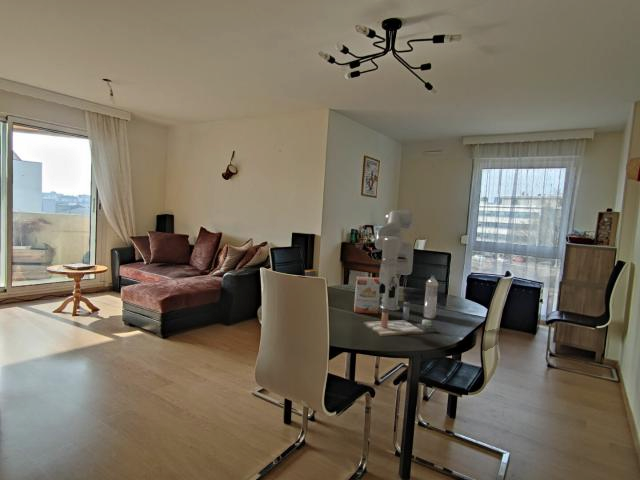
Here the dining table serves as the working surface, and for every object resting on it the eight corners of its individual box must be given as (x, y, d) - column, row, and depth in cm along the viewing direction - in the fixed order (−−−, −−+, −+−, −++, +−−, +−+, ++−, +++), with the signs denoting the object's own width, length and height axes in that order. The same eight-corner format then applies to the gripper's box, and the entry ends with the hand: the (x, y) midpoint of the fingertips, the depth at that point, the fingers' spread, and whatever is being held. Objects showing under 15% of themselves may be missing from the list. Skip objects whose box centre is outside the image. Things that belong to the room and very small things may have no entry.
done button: (419, 326, 195) (420, 319, 195) (427, 325, 197) (427, 319, 196) (425, 328, 191) (425, 322, 191) (432, 328, 192) (433, 321, 192)
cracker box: (354, 312, 219) (357, 277, 217) (353, 310, 225) (356, 276, 223) (378, 314, 219) (381, 279, 218) (376, 311, 225) (379, 277, 224)
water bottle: (427, 319, 215) (430, 276, 213) (420, 315, 222) (424, 274, 220) (437, 318, 217) (441, 276, 215) (431, 315, 223) (434, 274, 222)
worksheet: (363, 323, 198) (363, 321, 198) (404, 322, 206) (404, 319, 206) (380, 335, 180) (380, 333, 180) (424, 333, 188) (424, 330, 188)
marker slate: (401, 319, 212) (402, 302, 211) (406, 319, 213) (407, 301, 212) (404, 321, 208) (405, 303, 208) (409, 320, 209) (411, 303, 209)
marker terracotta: (379, 326, 191) (381, 307, 190) (385, 326, 192) (386, 307, 191) (382, 328, 188) (384, 309, 187) (388, 328, 189) (390, 308, 188)
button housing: (416, 328, 196) (416, 323, 196) (427, 327, 198) (427, 323, 198) (424, 332, 189) (424, 327, 189) (435, 331, 192) (436, 327, 192)
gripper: (374, 259, 194) (372, 291, 196) (391, 264, 178) (388, 299, 180) (387, 259, 197) (384, 291, 198) (404, 265, 181) (402, 299, 182)
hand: (386, 295), depth 189 cm, fingers open, 9 cm apart
